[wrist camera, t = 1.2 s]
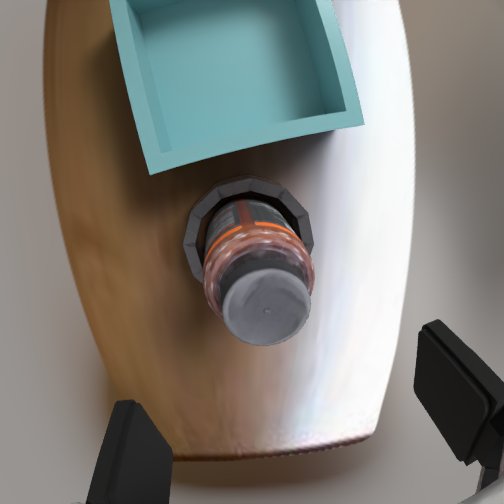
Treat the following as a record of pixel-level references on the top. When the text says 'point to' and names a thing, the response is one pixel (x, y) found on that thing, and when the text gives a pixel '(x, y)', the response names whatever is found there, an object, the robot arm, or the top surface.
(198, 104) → the bin
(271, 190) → the collar
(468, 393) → the robot arm
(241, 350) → the top surface
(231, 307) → the supplement bottle
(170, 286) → the top surface
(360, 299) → the top surface
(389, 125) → the top surface
